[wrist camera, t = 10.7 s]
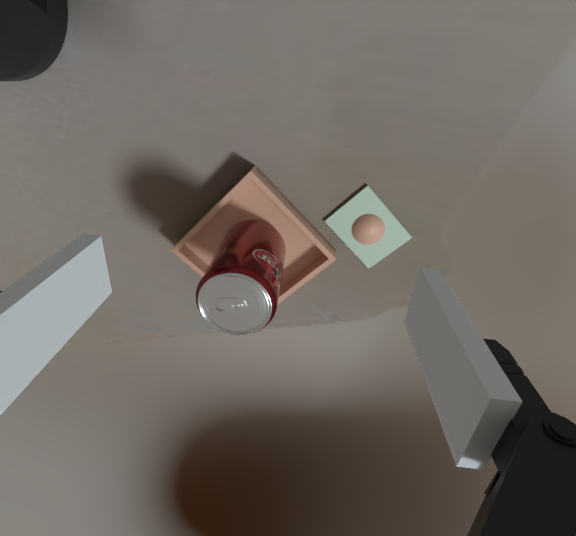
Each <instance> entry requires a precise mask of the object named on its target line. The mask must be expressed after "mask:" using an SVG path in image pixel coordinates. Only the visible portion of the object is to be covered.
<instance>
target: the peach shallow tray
mask: <svg viewBox="0 0 576 536" xmlns="http://www.w3.org/2000/svg"><path fill="white" fill-rule="evenodd" d="M246 220H258V221H262V222H265V223H267V224H269V225H271V226H272V227H274V228H275V229H276V230H277V231H278V232H279V233H280V235H281V236H282V238H283V240H284V243H285V248H286V254H285V261H284V267H283V273H282V279H281V285H280V291H279V297H278V303H280V302H281V301H282V300H284V299H285V298H286V297H288V296H289V295H290V294H292V293H293V292H294V291H296V290H297V289H298V288H300V287H301V286H302V285H303V284H305V283H306V282H307V281H309V280H310V279H311V278H313V277H314V276H315V275H317V274H318V273H319V272H321V271H322V270H323V269H325V268H326V267H327V266H328V265H330V264H331V263H332V262H334V261H335V260H336V250H335V249H334V248H333V246H332V245H331V244H330V243H329V242H328V241H327V240H326V239H325V238H324V237H323V236H322V235H321V234H320V233H319V232H318V231H317V230H316V229H315V228H314V227H313V225H312V224H311V223H310V222H309V221H308V220H307V219H306V218H305V217H304V216H303V215H302V214H301V213H300V212H299V211H298V210H297V209H296V208H295V207H294V206H293V205H292V203H291V202H290V201H289V200H288V199H287V198H286V197H285V196H284V195H283V194H282V193H281V192H280V191H279V190H278V189H277V188H276V187H275V186H274V185H273V184H272V182H271V181H270V180H269V179H268V178H267V177H266V176H265V175H264V174H263V173H262V172H261V171H260V170H259V169H258V168H257V167H256V166H255V165H254V166H253V167H252V168H251V169H250V170H249V171H248V172H247V173H246V174H245V175H244V176H243V177H242V178H241V179H240V180H239V181H238V182H237V183H236V184H235V185H234V186H233V187H232V188H231V189H230V190H229V191H228V192H227V193H226V194H225V195H224V196H223V197H222V198H221V199H220V200H219V201H218V202H217V203H216V204H215V205H214V206H213V207H212V208H211V209H210V210H209V211H208V212H207V213H206V214H205V215H204V216H203V217H202V218H201V219H200V220H199V221H198V222H197V223H196V224H195V225H194V226H193V227H192V228H191V229H190V230H189V231H188V232H187V233H186V234H185V235H184V236H183V237H182V238H181V239H180V240H179V241H178V242H177V243H176V244H175V246H174V247H173V248H172V249H171V251H172V252H174V253H175V254H176V255H177V256H178V257H179V258H181V259H182V260H183V261H184V262H185V263H186V264H188V265H189V266H190V267H191V268H192V269H193V270H195V271H196V272H197V273H198V274H199V275H200V276H202V277H203V275H204V273H205V271H206V269H207V268H208V266H209V264H210V262H211V260H212V259H213V257H214V255H215V253H216V251H217V250H218V248H219V246H220V244H221V242H222V241H223V239H224V237H225V235H226V233H227V232H228V231H229V230H230V229H231V228H232V227H233V226H234V225H236V224H238V223H239V222H242V221H246ZM278 303H277V304H278Z"/></svg>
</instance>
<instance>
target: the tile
mask: <svg viewBox="0 0 576 536" xmlns="http://www.w3.org/2000/svg"><path fill="white" fill-rule="evenodd" d="M324 221H325V222H326V224H327V225H328V226H329V227H330V228H331V229H332V230H333V231H334V232H335V233H336V234H337V235H338V236H339V237H340V239H341V240H342V241H343V242H344V243H345V244H346V245H347V246H348V247H349V248H350V249H351V250H352V251H353V252H354V254H355V255H356V256H357V257H358V258H359V259H360V260H361V261H362V262H363V263H364V264H365V265H366V266H367V267H368V269H369V268H371V267H372V266H373V265H375V264H376V263H377V262H379V261H380V260H382V259H383V258H384V257H386V256H387V255H389V254H390V253H391V252H393V251H394V250H396V249H397V248H398V247H400V246H401V245H403V244H404V243H405V242H407V241H408V240H410V239H411V238H412V237H411V236H410V234H409V233H408V232H407V231H406V230H405V229H404V227H403V226H402V225H401V224H400V223H399V221H398V220H397V219H396V218H395V217H394V215H393V214H392V213H391V212H390V211H389V210H388V208H387V207H386V206H385V205H384V204H383V202H382V201H381V200H380V199H379V198H378V197H377V195H376V194H375V193H374V192H373V191H372V189H371V188H370V187H369V186H368V185H367V186H366V187H364V188H363V189H362V190H361V191H359V192H358V193H357V194H356V195H355V196H353V197H352V198H351V199H350V200H349V201H347V202H346V203H345V204H344V205H343V206H341V207H340V208H339V209H338V210H336V211H335V212H334V213H333V214H332V215H330V216H329V217H328V218H327V219H326V220H324Z"/></svg>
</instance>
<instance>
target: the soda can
mask: <svg viewBox="0 0 576 536" xmlns="http://www.w3.org/2000/svg"><path fill="white" fill-rule="evenodd" d="M285 254H286V248H285V243H284V240H283V238H282V236H281V235H280V233H279V232H278V231H277V230H276V229H275V228H274V227H272V226H271V225H269V224H267V223H265V222H262V221H258V220H246V221H242V222H239V223H238V224H236V225H234V226H233V227H232V228H231V229H230V230H229V231H228V232H227V233H226V235H225V237H224V239H223V241H222V242H221V244H220V246H219V248H218V250H217V251H216V253H215V255H214V257H213V259H212V260H211V262H210V264H209V266H208V268H207V269H206V271H205V273H204V275H203V277H202V278H201V280H200V282H199V284H198V286H197V290H196V303H197V307H198V310H199V311H200V313H201V315H202V316H203V318H204V319H205V320H206V321H207V322H208V323H209V324H210V325H211V326H212V327H214V328H215V329H217V330H219V331H221V332H223V333H227V334H231V335H247V334H251V333H255V332H257V331H260V330H261V329H263V328H264V327H266V326H267V325H268V324H269V323H270V322H271V320H272V319H273V317H274V315H275V312H276V309H277V303H278V297H279V291H280V285H281V279H282V273H283V267H284V261H285Z"/></svg>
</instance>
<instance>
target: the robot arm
mask: <svg viewBox="0 0 576 536" xmlns="http://www.w3.org/2000/svg"><path fill="white" fill-rule="evenodd" d="M67 21H68V9H67V0H0V81H21V80H26V79H30V78H33V77H35V76H37V75H39V74H41V73H42V72H44V71H45V70H46V69H47V68H48V67H49V66H51V64H52V63H53V62H54V61H55V59H56V58H57V56H58V54H59V52H60V50H61V48H62V46H63V43H64V39H65V35H66V30H67ZM111 293H112V291H111V285H110V280H109V275H108V270H107V265H106V259H105V254H104V249H103V244H102V239H101V236H94V235H84V234H83V235H81V236H80V237H78V238H77V239H76V240H74V241H73V242H71V243H70V244H69V245H67V246H66V247H64V248H63V249H62V250H60V251H59V252H57V253H56V254H54V255H53V256H52V257H50V258H49V259H47V260H46V261H45V262H43V263H42V264H40V265H39V266H38V267H36V268H35V269H33V270H32V271H31V272H29V273H28V274H26V275H25V276H24V277H22V278H21V279H19V280H18V281H17V282H15V283H14V284H12V285H11V286H10V287H8V288H7V289H5V290H4V291H0V415H1V414H2V413H3V412H4V411H5V410H6V408H7V407H8V406H9V405H10V404H11V403H12V402H13V401H14V399H15V398H16V397H17V396H18V395H19V394H20V393H21V392H22V391H23V390H24V389H25V387H26V386H27V385H28V384H29V383H30V382H31V381H32V380H33V379H34V378H35V376H36V375H37V374H38V373H39V372H40V371H41V370H42V369H43V368H44V366H45V365H46V364H47V363H48V362H49V361H50V360H51V359H52V358H53V356H54V355H55V354H56V353H57V352H58V351H59V350H60V349H61V348H62V347H63V346H64V344H65V343H66V342H67V341H68V340H69V339H70V338H71V337H72V336H73V335H74V333H75V332H76V331H77V330H78V329H79V328H80V327H81V326H82V325H83V324H84V322H85V321H86V320H87V319H88V318H89V317H90V316H91V315H92V314H93V313H94V311H95V310H96V309H97V308H98V307H99V306H100V305H101V304H102V303H103V301H104V300H105V299H106V298H107V297H108V296H109V295H110V294H111ZM404 322H405V325H406V328H407V331H408V333H409V336H410V339H411V341H412V345H413V347H414V350H415V353H416V356H417V358H418V361H419V364H420V366H421V370H422V372H423V375H424V378H425V381H426V383H427V386H428V389H429V392H430V395H431V397H432V400H433V403H434V406H435V408H436V411H437V414H438V417H439V419H440V422H441V425H442V428H443V431H444V433H445V436H446V439H447V442H448V444H449V447H450V450H451V453H452V456H453V458H454V461H455V464H456V466H457V467H467V468H475V469H484V468H485V466H486V465H487V463H488V461H489V460H490V458H491V456H492V457H493V460H494V462H495V464H496V467H497V469H498V471H497V473H496V475H495V476H494V478H493V479H492V481H491V483H490V484H489V486H488V488H487V490H486V491H485V494H486V495H485V498H484V500H483V502H482V504H481V506H480V509H479V511H478V513H477V515H476V517H475V520H474V522H473V524H472V526H471V528H470V531H469V533H468V535H467V536H576V424H574V423H573V422H571V421H570V420H568V419H566V418H565V417H562V416H560V415H558V414H555V413H551V411H550V410H549V409H548V407H547V405H546V404H545V402H544V401H543V399H542V398H541V397H540V395H539V394H538V392H537V391H536V389H535V388H534V387H533V385H532V384H531V382H530V381H529V379H528V378H527V377H526V376H524V372H523V371H522V369H521V368H520V367H519V366H517V362H516V361H515V359H514V358H513V356H512V355H511V353H510V352H509V351H508V350H507V349H506V348H504V347H503V346H502V345H501V344H500V343H498V342H497V341H496V340H490V339H483V338H482V336H481V335H480V333H479V332H478V330H477V329H476V327H475V325H474V324H473V322H472V321H471V319H470V317H469V316H468V314H467V313H466V311H465V310H464V308H463V306H462V305H461V303H460V302H459V300H458V299H457V297H456V295H455V294H454V292H453V291H452V289H451V287H450V286H449V284H448V283H447V281H446V279H445V278H444V276H443V275H442V273H441V271H440V270H439V269H431V268H420V270H419V274H418V277H417V280H416V284H415V287H414V290H413V294H412V297H411V301H410V304H409V307H408V311H407V314H406V318H405V321H404Z"/></svg>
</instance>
